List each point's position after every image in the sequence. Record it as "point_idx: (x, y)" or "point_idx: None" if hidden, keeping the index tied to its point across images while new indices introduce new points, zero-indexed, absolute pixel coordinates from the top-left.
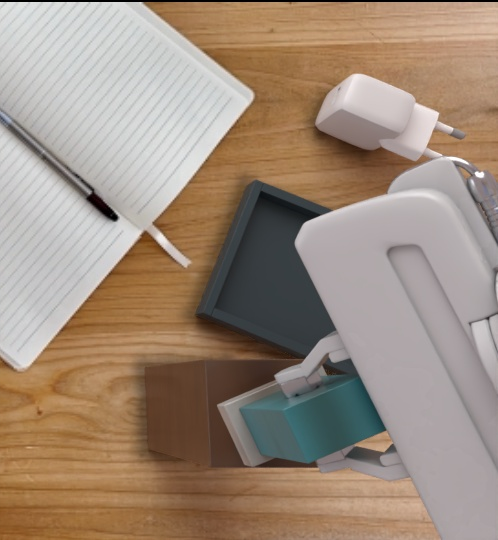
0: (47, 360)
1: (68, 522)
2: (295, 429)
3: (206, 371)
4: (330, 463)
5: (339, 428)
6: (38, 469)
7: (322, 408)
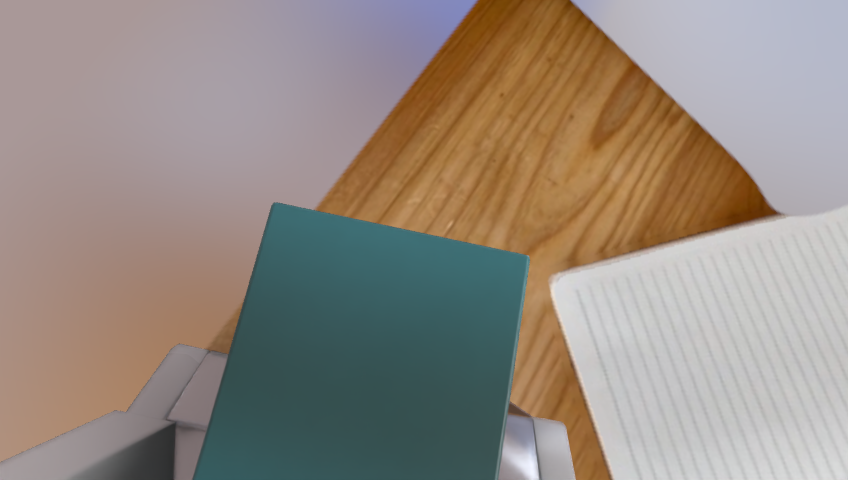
0: (543, 318)
1: (330, 208)
2: (426, 250)
3: (514, 405)
4: (189, 376)
5: (310, 426)
6: (416, 217)
7: (436, 417)
